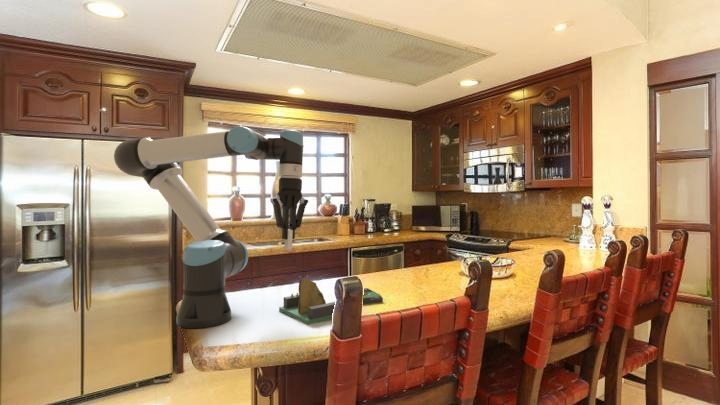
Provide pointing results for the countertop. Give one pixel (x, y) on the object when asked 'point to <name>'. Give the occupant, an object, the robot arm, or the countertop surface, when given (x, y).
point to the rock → (309, 295)
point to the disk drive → (371, 297)
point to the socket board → (301, 316)
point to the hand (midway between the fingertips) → (288, 249)
